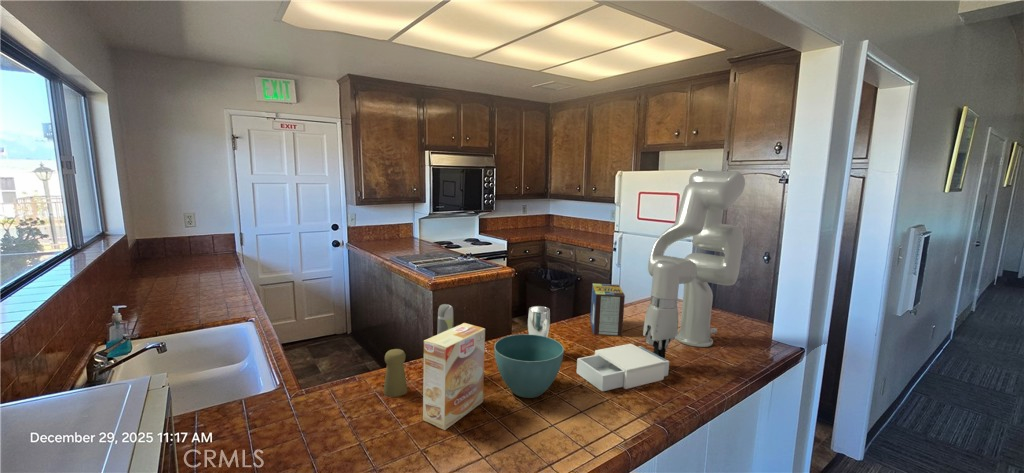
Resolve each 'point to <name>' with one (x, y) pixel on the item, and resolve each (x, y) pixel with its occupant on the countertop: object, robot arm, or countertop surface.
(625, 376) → the sleeve
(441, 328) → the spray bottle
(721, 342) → the countertop surface
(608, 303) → the protein box
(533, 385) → the teal bowl
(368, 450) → the countertop surface
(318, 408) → the countertop surface
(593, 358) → the white sliding drawer box
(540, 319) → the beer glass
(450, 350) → the coffeecake box
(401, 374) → the olive green pepper shaker
